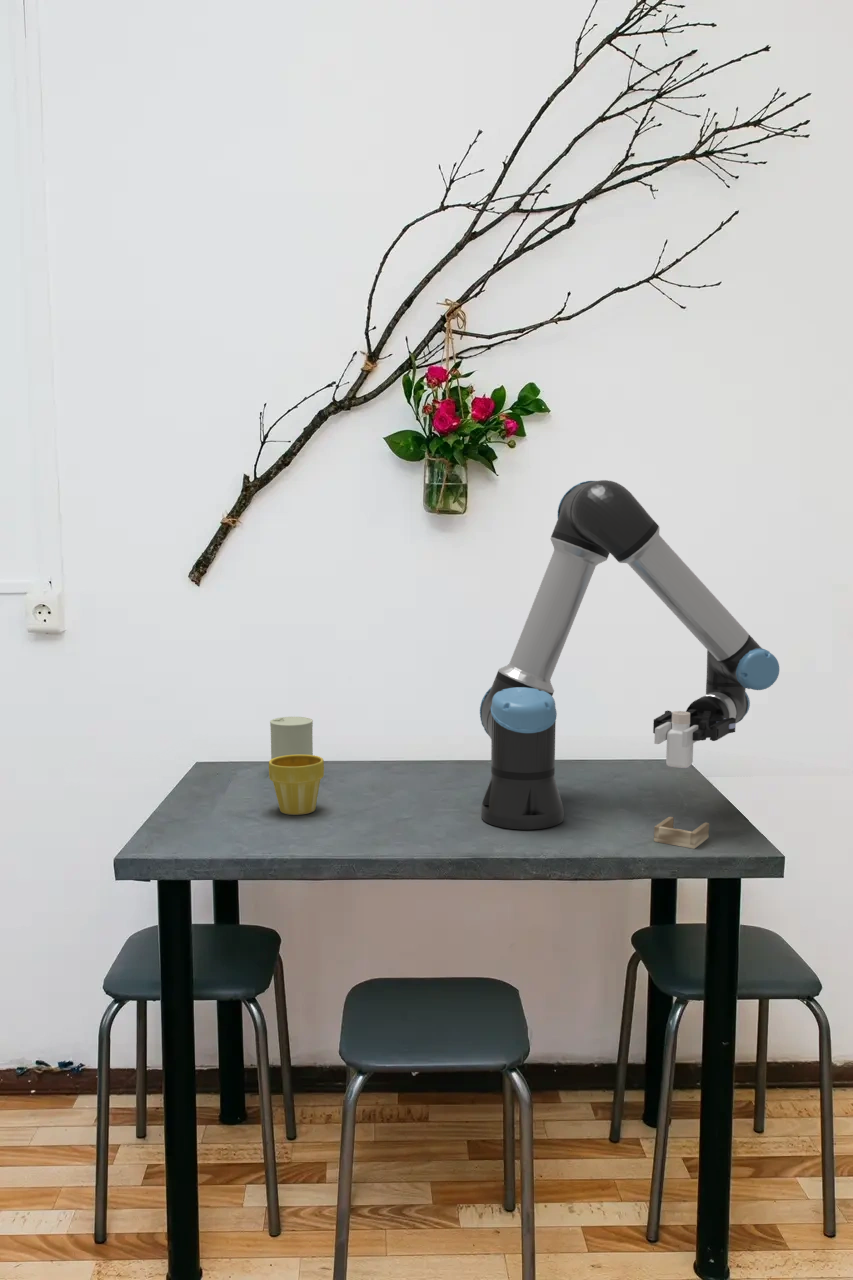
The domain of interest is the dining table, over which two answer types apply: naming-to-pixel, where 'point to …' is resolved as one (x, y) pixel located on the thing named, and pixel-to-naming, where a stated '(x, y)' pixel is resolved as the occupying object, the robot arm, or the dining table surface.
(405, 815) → the dining table surface
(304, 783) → the plant pot
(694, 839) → the tray
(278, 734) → the can
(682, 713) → the pepper shaker
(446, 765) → the dining table surface
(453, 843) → the dining table surface
